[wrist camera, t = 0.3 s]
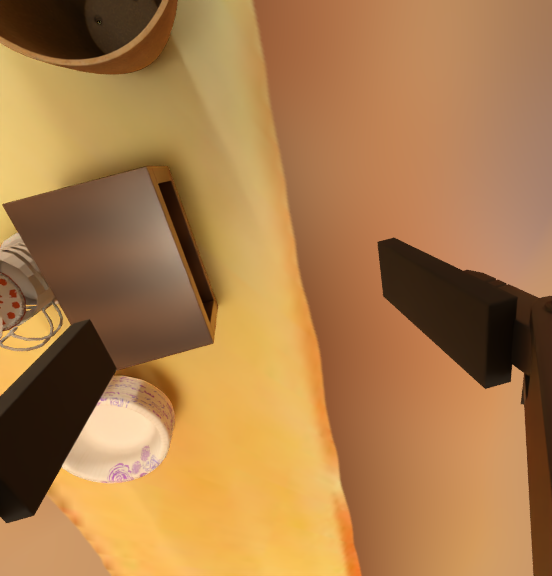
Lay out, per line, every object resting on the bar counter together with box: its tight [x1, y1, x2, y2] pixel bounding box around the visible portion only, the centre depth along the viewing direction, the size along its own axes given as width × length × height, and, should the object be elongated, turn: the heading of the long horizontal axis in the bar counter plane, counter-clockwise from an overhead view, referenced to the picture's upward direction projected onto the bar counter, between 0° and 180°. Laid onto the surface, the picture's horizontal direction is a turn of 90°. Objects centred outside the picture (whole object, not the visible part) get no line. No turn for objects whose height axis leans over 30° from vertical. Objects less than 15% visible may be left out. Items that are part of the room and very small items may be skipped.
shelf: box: [2, 166, 218, 370], centre depth 36 cm, size 19×13×10 cm
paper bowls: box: [62, 376, 175, 483], centre depth 44 cm, size 15×15×8 cm
